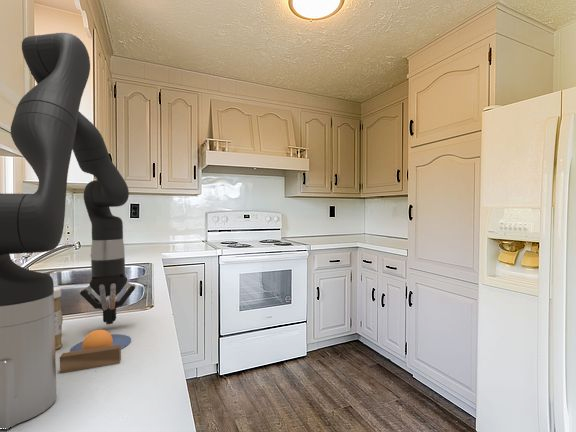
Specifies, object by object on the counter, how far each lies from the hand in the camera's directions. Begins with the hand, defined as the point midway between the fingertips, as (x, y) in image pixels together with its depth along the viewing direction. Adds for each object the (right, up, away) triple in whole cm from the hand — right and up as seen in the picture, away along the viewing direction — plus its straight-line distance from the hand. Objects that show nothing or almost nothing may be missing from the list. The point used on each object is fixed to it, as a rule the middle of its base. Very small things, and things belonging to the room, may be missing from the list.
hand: (109, 323), depth 81 cm
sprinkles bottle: (-7, -2, -12) cm, 14 cm away
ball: (+6, +1, -16) cm, 17 cm away
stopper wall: (+8, -2, -20) cm, 21 cm away
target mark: (+4, -2, -10) cm, 11 cm away
